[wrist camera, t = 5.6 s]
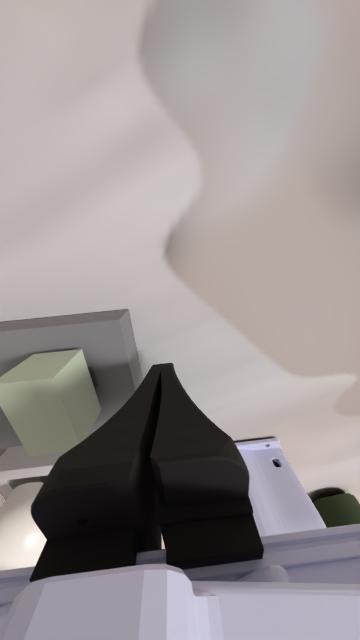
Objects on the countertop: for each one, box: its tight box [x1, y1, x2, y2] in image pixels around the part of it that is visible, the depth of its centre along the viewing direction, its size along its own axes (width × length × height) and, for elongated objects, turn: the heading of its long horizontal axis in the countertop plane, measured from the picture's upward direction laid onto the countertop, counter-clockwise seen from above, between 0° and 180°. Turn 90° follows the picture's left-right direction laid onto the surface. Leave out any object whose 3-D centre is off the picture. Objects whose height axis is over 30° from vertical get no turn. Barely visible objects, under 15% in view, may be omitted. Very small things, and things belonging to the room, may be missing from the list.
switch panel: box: [0, 309, 162, 533], centre depth 15 cm, size 14×26×4 cm, turn 5°
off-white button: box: [0, 482, 47, 571], centre depth 11 cm, size 4×4×3 cm
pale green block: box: [0, 349, 101, 456], centre depth 10 cm, size 3×5×3 cm, turn 5°
